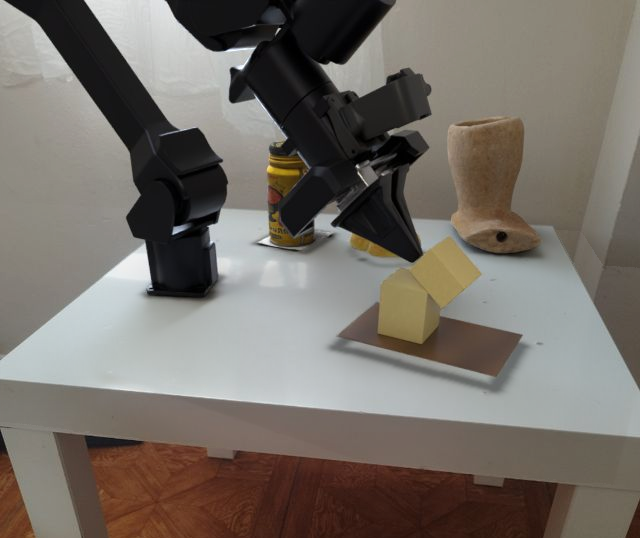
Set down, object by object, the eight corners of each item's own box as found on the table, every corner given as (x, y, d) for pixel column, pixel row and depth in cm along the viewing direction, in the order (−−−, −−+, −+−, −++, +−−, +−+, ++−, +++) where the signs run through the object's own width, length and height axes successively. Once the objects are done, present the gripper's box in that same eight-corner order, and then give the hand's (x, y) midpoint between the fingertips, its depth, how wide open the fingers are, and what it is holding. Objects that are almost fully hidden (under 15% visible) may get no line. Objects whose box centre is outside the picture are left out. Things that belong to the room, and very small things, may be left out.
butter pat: (408, 270, 52) (430, 248, 50) (428, 256, 55) (449, 235, 53) (441, 309, 52) (465, 289, 50) (459, 293, 55) (482, 273, 53)
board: (335, 347, 57) (335, 335, 56) (375, 312, 64) (376, 301, 63) (494, 389, 51) (496, 376, 51) (520, 345, 58) (523, 334, 57)
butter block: (377, 333, 57) (380, 282, 54) (395, 316, 60) (400, 266, 57) (421, 344, 55) (427, 292, 52) (438, 326, 58) (445, 275, 55)
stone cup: (431, 221, 90) (444, 106, 81) (513, 222, 90) (535, 108, 81) (445, 256, 77) (462, 126, 69) (540, 258, 77) (569, 128, 69)
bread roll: (389, 271, 73) (392, 238, 71) (339, 251, 79) (340, 219, 76) (435, 256, 78) (438, 224, 75) (384, 238, 83) (386, 208, 81)
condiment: (256, 243, 81) (251, 145, 74) (288, 226, 87) (286, 134, 80) (304, 252, 78) (304, 151, 71) (334, 234, 84) (336, 139, 78)
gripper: (311, 34, 39) (454, 232, 41) (418, 26, 53) (522, 176, 55) (222, 153, 47) (346, 316, 49) (335, 119, 60) (429, 248, 62)
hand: (417, 259), depth 54 cm, fingers closed
